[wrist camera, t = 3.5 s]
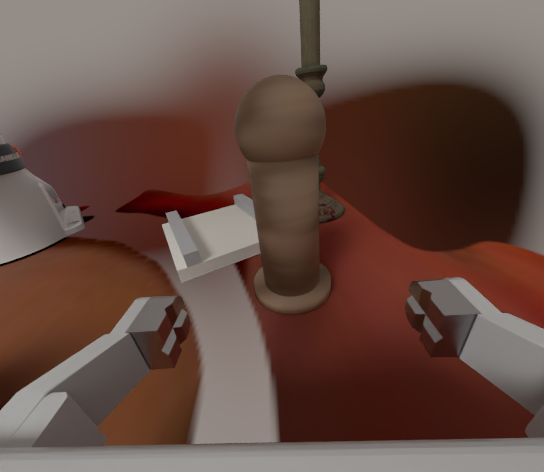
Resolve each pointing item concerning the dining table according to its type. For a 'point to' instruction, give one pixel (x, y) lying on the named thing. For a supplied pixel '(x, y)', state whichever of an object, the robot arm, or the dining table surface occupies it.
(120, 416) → the dining table surface
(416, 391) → the dining table surface
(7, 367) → the dining table surface
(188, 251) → the tray
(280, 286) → the tan wooden upright piece
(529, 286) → the dining table surface
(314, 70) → the candlestick holder
